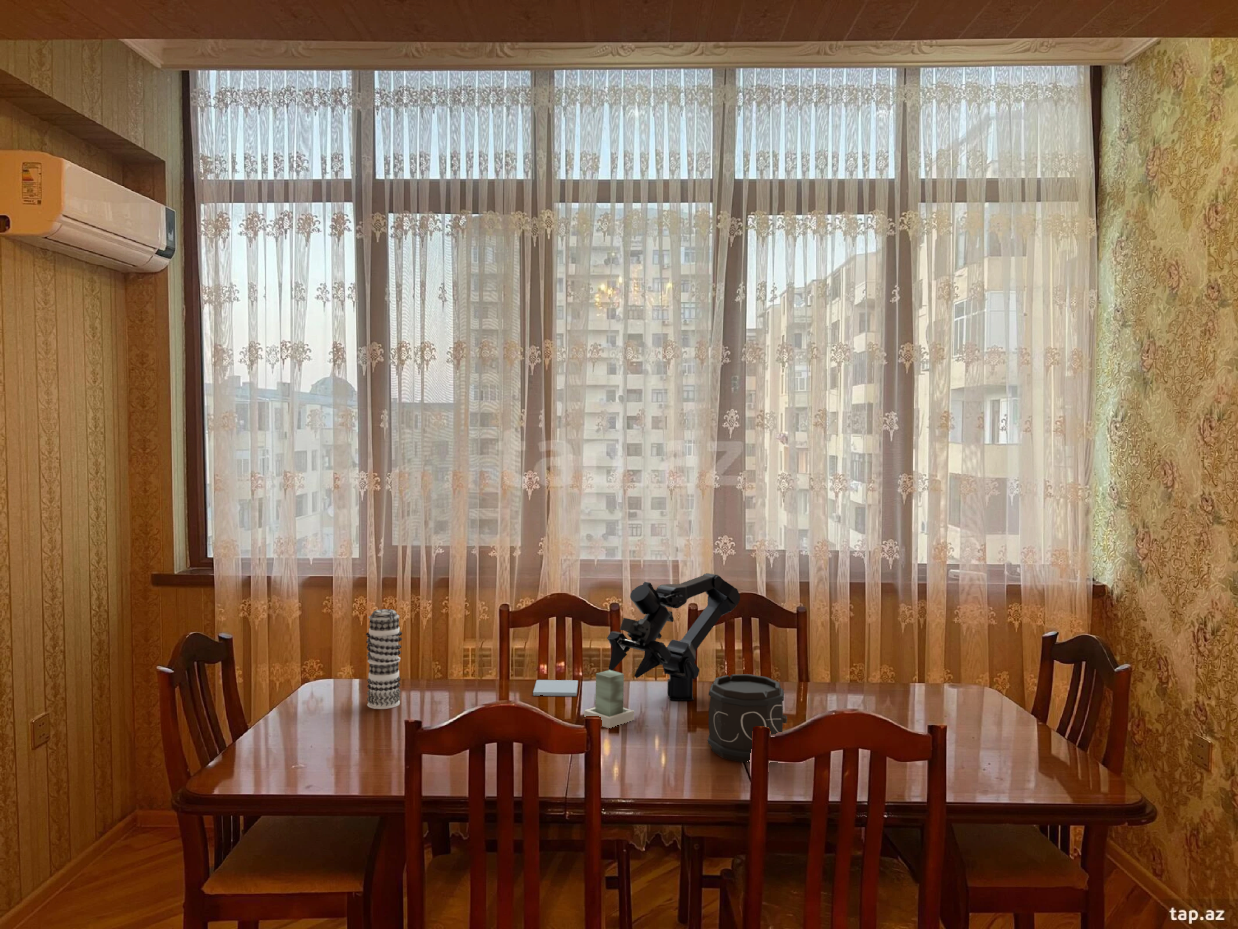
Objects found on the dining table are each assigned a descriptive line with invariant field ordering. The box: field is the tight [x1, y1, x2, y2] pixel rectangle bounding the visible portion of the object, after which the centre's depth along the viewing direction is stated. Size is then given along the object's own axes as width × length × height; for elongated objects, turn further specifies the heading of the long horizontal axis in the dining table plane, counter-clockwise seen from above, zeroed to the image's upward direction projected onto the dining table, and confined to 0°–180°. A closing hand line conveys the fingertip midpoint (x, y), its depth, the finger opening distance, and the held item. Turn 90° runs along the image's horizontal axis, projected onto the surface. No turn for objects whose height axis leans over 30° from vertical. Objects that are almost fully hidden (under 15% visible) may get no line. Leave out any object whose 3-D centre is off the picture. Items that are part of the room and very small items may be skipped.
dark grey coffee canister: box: [707, 673, 788, 763], centre depth 201 cm, size 18×18×16 cm
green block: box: [594, 669, 625, 717], centre depth 221 cm, size 5×5×12 cm
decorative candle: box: [365, 608, 403, 710], centre depth 231 cm, size 9×9×25 cm
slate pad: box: [532, 679, 579, 697], centre depth 247 cm, size 12×12×1 cm
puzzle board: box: [583, 706, 635, 729], centre depth 221 cm, size 9×9×2 cm
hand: (622, 673), depth 224 cm, fingers open, 9 cm apart
